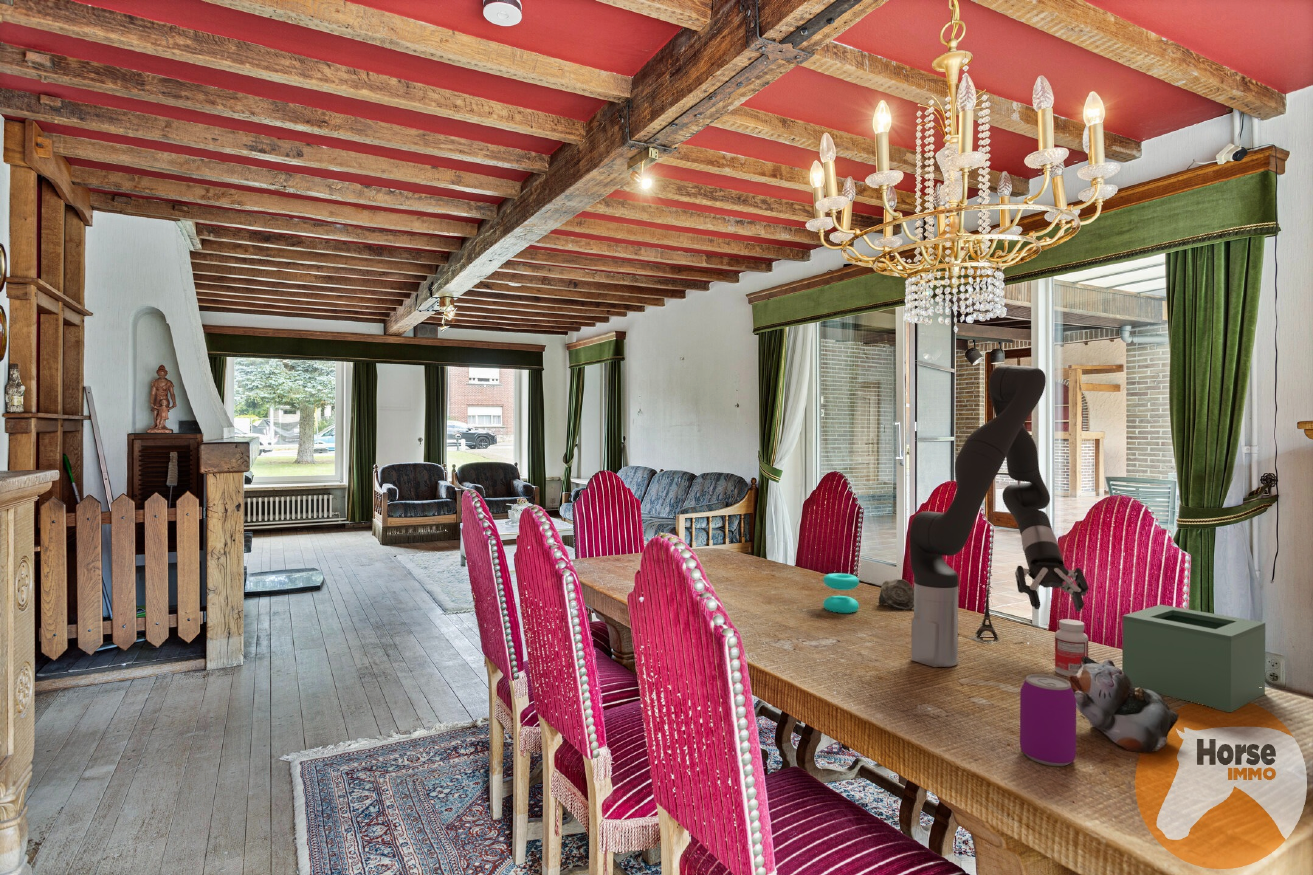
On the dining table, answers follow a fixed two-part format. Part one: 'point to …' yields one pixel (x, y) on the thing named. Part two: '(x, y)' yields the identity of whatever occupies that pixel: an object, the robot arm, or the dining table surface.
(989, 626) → the eiffel tower figurine
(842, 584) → the donuts
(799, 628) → the dining table surface
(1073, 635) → the pill bottle
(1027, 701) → the beverage can
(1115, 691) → the lucky cat figurine
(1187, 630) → the box
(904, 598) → the fossil
